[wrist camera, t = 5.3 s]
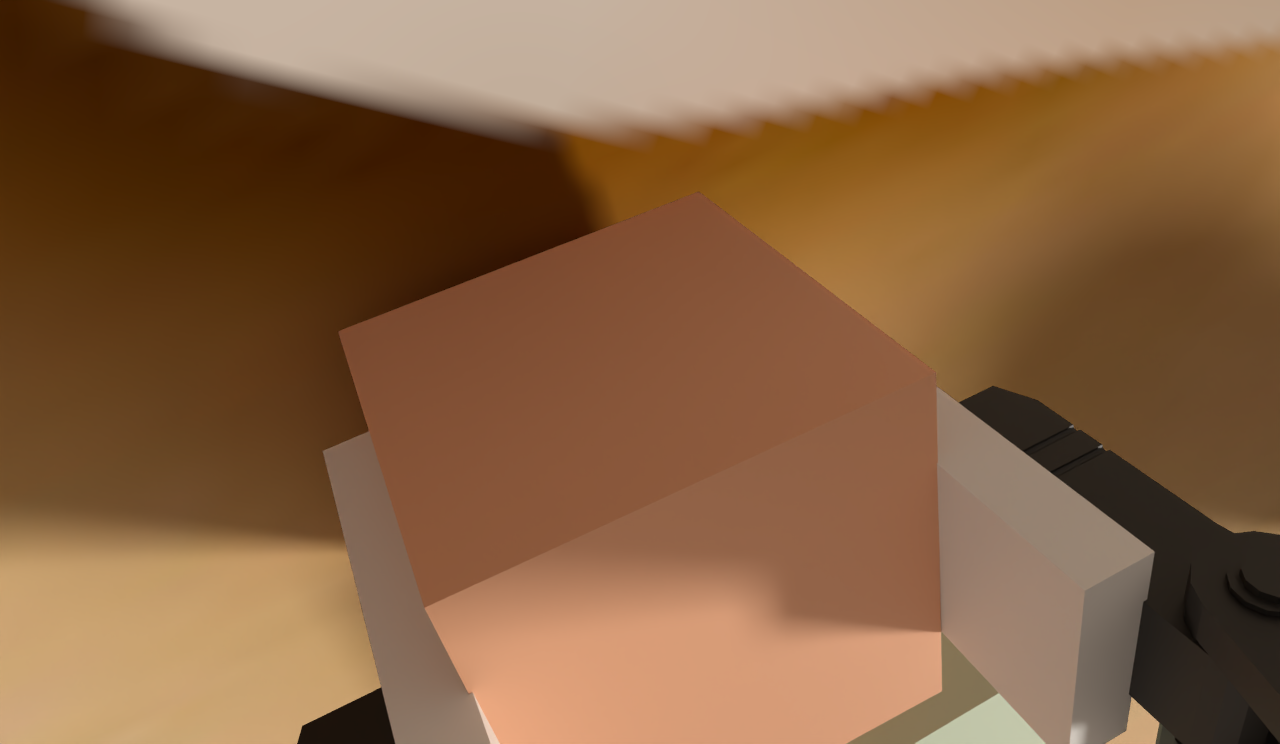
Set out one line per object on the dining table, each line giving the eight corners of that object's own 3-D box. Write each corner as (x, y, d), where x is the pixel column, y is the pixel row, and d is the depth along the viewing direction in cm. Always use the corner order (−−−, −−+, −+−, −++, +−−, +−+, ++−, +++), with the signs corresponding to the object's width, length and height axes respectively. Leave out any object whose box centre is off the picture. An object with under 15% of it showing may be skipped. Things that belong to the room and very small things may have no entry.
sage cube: (890, 475, 19) (1079, 644, 16) (901, 627, 22) (1063, 802, 18) (676, 585, 18) (822, 798, 14) (718, 730, 21) (848, 940, 17)
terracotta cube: (698, 191, 13) (936, 372, 9) (747, 464, 16) (942, 691, 12) (337, 331, 12) (423, 608, 8) (462, 595, 15) (572, 894, 11)
